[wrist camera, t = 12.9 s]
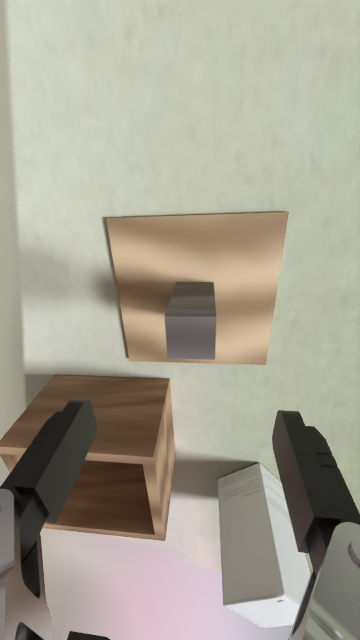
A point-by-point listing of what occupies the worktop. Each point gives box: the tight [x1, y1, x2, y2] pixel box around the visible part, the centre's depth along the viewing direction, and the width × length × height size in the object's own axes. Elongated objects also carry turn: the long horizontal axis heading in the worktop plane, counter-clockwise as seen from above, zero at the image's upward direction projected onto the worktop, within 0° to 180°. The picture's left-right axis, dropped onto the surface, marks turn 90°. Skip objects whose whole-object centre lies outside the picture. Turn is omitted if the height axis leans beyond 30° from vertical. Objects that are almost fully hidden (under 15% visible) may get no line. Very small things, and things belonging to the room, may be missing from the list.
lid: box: [106, 212, 289, 365], centre depth 20 cm, size 15×15×8 cm
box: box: [0, 375, 175, 541], centre depth 28 cm, size 14×14×10 cm
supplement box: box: [218, 463, 310, 628], centre depth 30 cm, size 7×7×13 cm
